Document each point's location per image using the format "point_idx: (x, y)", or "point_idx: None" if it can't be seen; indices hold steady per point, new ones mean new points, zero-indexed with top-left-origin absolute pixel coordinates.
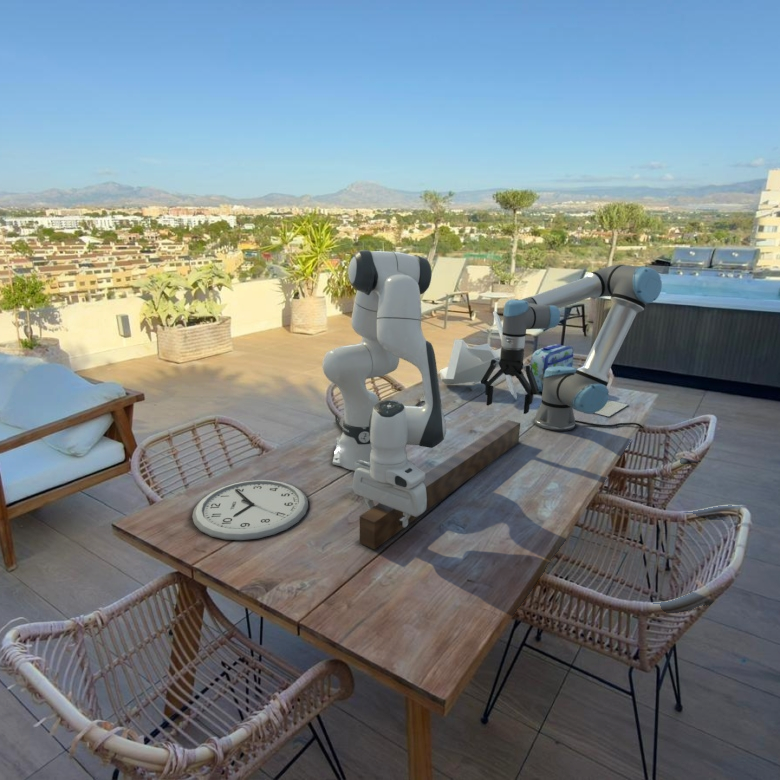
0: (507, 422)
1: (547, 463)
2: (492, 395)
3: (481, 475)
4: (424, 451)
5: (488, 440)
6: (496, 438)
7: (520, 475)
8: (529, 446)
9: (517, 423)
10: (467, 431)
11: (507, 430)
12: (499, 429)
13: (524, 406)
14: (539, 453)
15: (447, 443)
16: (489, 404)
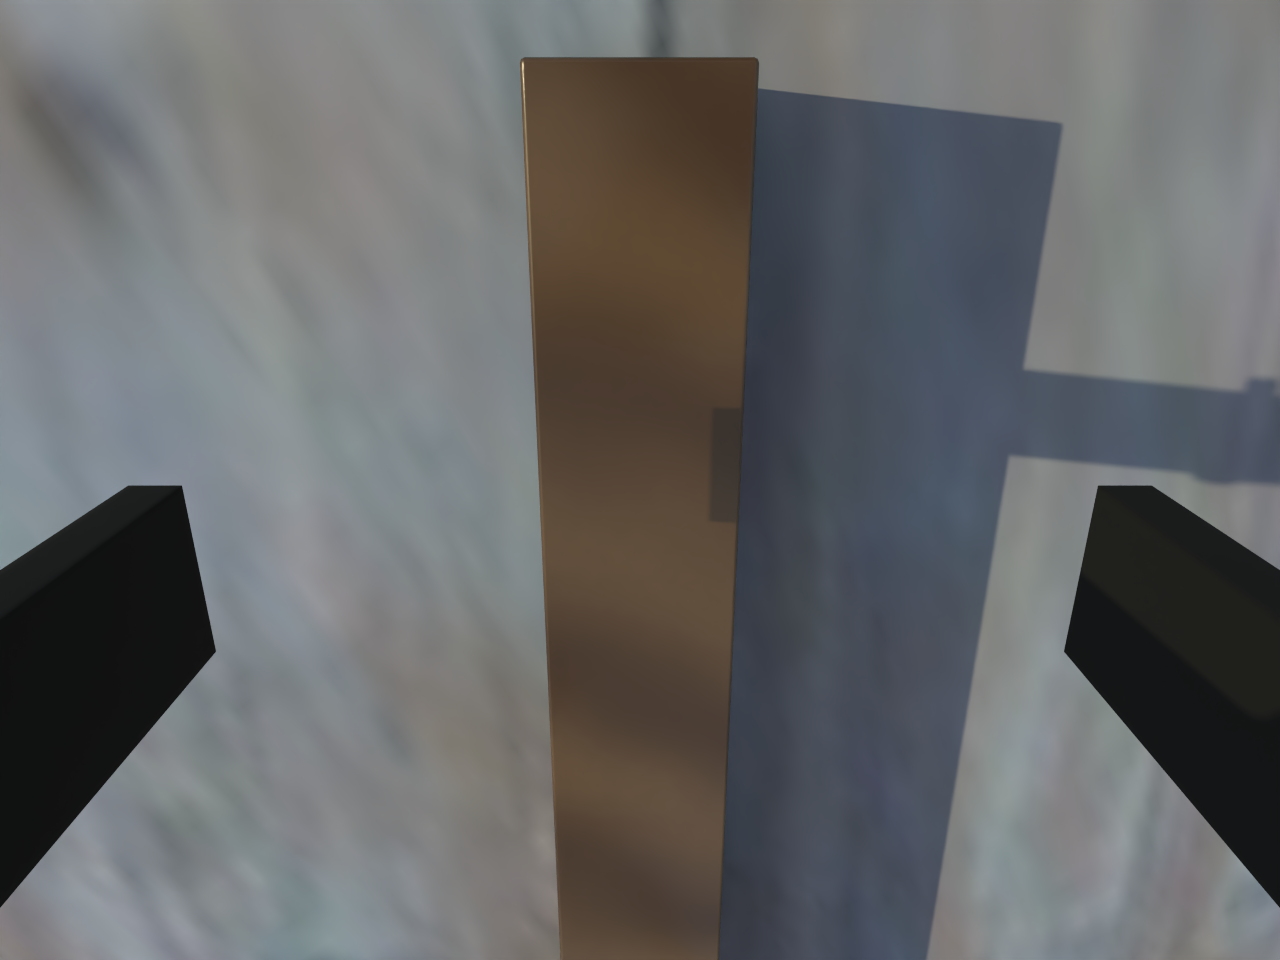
0: (565, 199)
1: (1177, 453)
2: (43, 587)
3: (739, 953)
4: (132, 876)
5: (665, 917)
6: (713, 825)
7: (1003, 802)
8: (887, 124)
9: (725, 123)
10: (30, 176)
11: (716, 523)
12: (606, 556)
13: (1167, 761)
14: (1049, 257)
15: None
16: (200, 609)
